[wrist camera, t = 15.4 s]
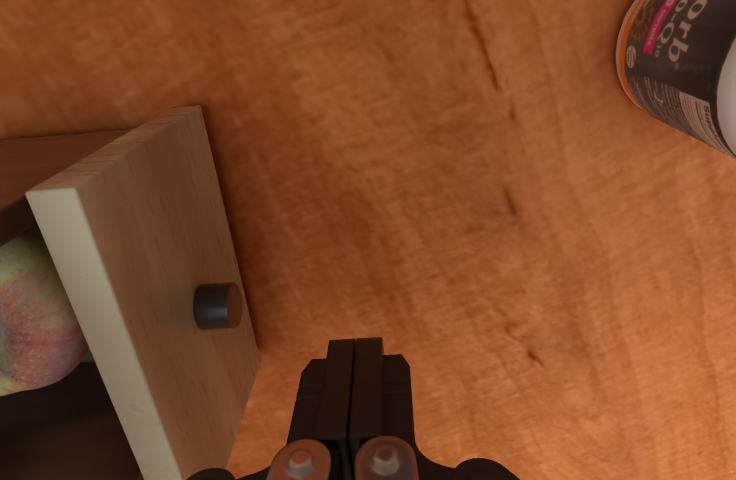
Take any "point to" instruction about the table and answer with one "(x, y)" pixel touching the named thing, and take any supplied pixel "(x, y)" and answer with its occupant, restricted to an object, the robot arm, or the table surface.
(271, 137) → the table surface
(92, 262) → the drawer
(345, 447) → the robot arm
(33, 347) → the apple
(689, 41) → the pill bottle
